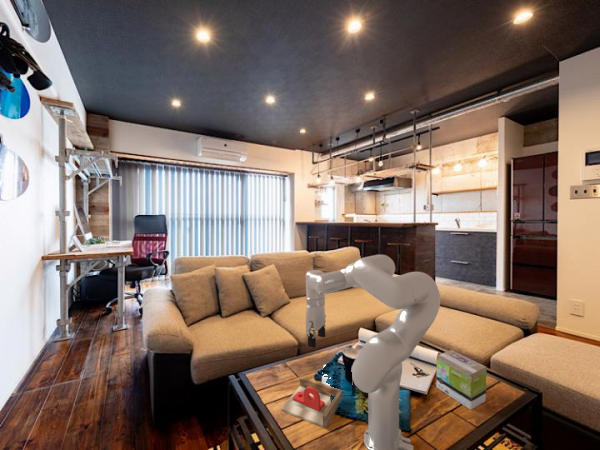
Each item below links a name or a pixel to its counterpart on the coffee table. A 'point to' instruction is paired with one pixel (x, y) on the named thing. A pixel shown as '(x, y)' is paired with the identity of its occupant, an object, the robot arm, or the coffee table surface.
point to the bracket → (309, 399)
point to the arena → (310, 414)
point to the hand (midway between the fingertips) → (317, 341)
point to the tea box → (461, 378)
